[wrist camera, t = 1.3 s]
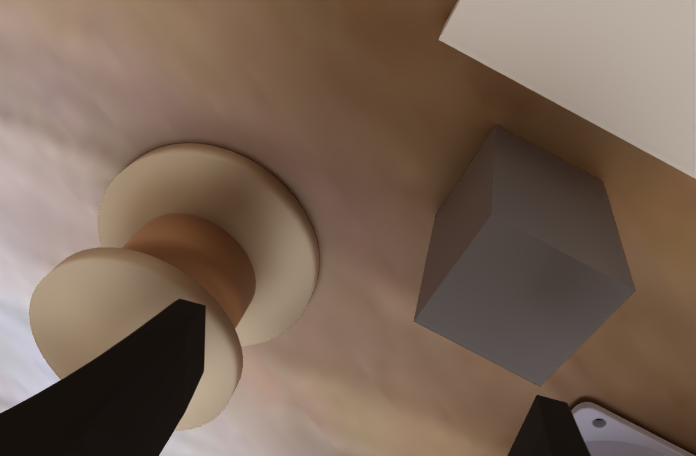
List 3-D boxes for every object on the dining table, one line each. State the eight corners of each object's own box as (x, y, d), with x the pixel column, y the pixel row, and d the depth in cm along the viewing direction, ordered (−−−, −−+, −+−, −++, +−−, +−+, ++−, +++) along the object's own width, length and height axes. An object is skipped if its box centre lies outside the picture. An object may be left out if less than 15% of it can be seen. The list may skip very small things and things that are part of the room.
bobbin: (356, 215, 22) (307, 327, 17) (273, 362, 27) (215, 485, 22) (137, 100, 22) (15, 178, 16) (94, 270, 27) (-11, 374, 21)
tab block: (603, 181, 20) (635, 290, 15) (532, 266, 22) (539, 386, 17) (495, 124, 19) (491, 214, 14) (435, 215, 22) (413, 321, 17)
